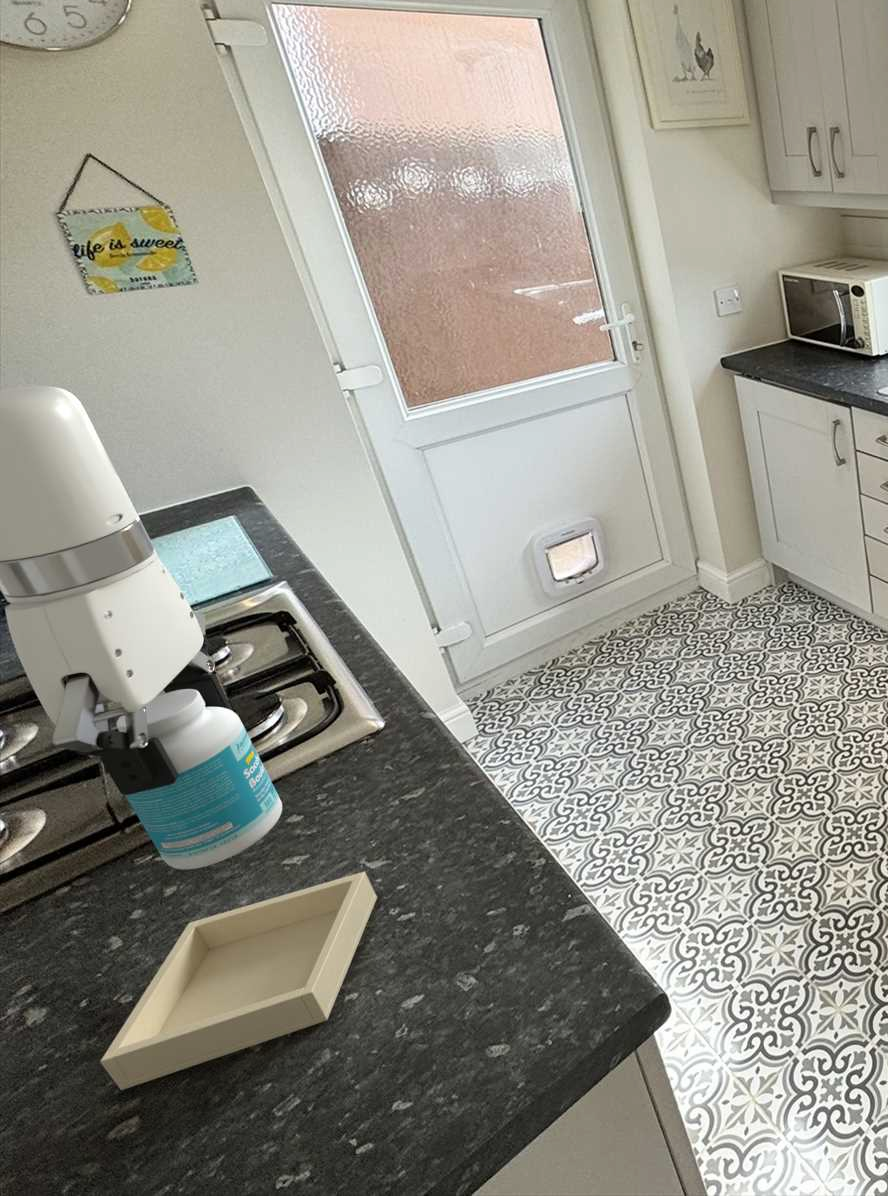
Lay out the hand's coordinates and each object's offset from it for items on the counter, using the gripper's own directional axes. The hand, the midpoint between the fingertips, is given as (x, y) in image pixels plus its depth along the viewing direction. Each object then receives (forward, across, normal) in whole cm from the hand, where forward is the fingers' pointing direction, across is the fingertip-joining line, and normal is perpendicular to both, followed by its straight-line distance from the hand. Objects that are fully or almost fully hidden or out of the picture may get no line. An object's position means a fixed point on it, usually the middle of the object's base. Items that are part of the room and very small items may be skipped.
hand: (181, 749), depth 62 cm
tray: (+25, +2, -2) cm, 25 cm away
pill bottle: (+9, 0, 0) cm, 9 cm away
